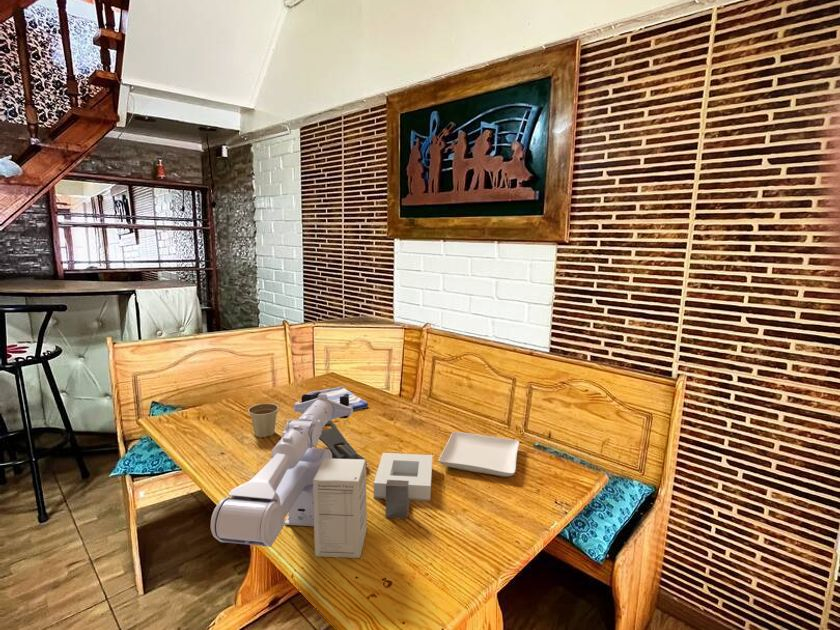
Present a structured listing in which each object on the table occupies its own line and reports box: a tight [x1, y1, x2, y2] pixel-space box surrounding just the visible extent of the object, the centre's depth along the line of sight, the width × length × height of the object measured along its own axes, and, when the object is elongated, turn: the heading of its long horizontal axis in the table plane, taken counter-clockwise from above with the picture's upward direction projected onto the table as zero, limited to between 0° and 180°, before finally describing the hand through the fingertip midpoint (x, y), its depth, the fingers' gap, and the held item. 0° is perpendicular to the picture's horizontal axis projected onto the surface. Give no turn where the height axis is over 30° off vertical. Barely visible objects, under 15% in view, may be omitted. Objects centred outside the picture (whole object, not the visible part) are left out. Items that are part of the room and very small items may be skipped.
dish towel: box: [306, 386, 369, 412], centre depth 175 cm, size 17×24×3 cm
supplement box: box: [313, 458, 368, 559], centre depth 93 cm, size 10×9×17 cm
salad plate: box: [438, 431, 520, 477], centre depth 132 cm, size 21×21×3 cm
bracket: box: [385, 480, 410, 520], centre depth 105 cm, size 6×5×8 cm
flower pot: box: [247, 402, 280, 438], centre depth 145 cm, size 9×9×9 cm
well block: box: [373, 452, 433, 502], centre depth 118 cm, size 16×14×4 cm
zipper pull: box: [319, 420, 368, 471], centre depth 131 cm, size 9×7×25 cm
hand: (333, 396), depth 120 cm, fingers open, 7 cm apart
